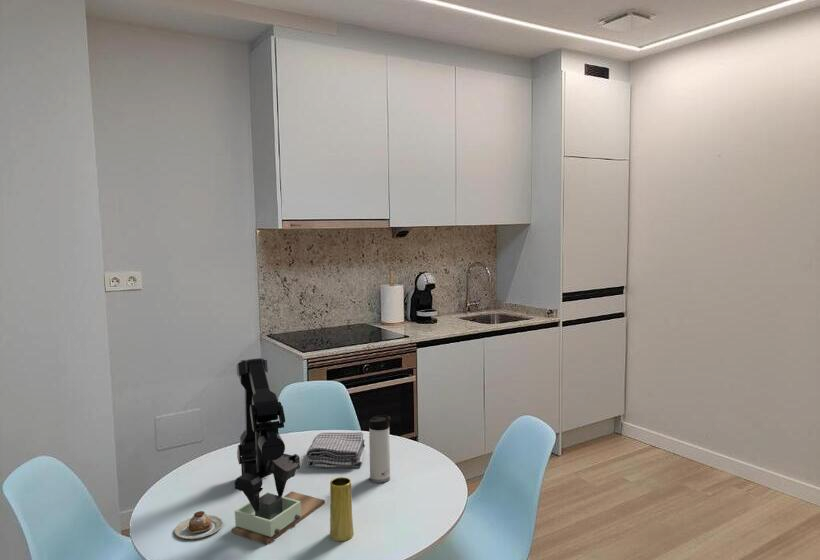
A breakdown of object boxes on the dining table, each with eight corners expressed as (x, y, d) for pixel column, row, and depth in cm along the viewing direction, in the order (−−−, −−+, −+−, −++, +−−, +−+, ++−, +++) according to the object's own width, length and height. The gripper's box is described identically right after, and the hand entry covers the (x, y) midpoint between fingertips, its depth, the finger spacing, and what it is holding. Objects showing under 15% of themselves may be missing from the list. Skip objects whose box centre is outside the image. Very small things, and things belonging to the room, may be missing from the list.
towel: (315, 451, 204) (315, 430, 203) (367, 452, 203) (366, 430, 202) (305, 469, 189) (305, 446, 188) (361, 470, 188) (361, 447, 187)
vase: (330, 529, 151) (329, 476, 149) (353, 528, 151) (352, 475, 150) (329, 542, 145) (327, 487, 143) (353, 540, 145) (352, 486, 144)
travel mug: (388, 484, 177) (387, 420, 175) (367, 482, 178) (366, 419, 177) (393, 475, 183) (392, 414, 181) (372, 473, 184) (372, 412, 183)
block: (255, 518, 152) (254, 500, 152) (268, 510, 156) (267, 492, 156) (269, 523, 150) (269, 504, 149) (282, 514, 154) (282, 496, 154)
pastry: (222, 538, 148) (222, 521, 147) (172, 546, 144) (171, 528, 144) (223, 516, 159) (222, 500, 159) (176, 523, 156) (176, 506, 155)
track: (231, 532, 149) (231, 529, 149) (291, 494, 171) (291, 491, 170) (267, 544, 144) (267, 540, 144) (324, 503, 165) (324, 500, 165)
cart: (233, 525, 151) (232, 510, 150) (264, 505, 161) (264, 491, 161) (273, 537, 145) (273, 522, 144) (303, 516, 155) (303, 502, 155)
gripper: (266, 465, 139) (268, 526, 141) (313, 439, 156) (314, 495, 157) (231, 456, 144) (234, 516, 146) (281, 432, 161) (282, 486, 162)
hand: (268, 503), depth 153 cm, fingers open, 9 cm apart
